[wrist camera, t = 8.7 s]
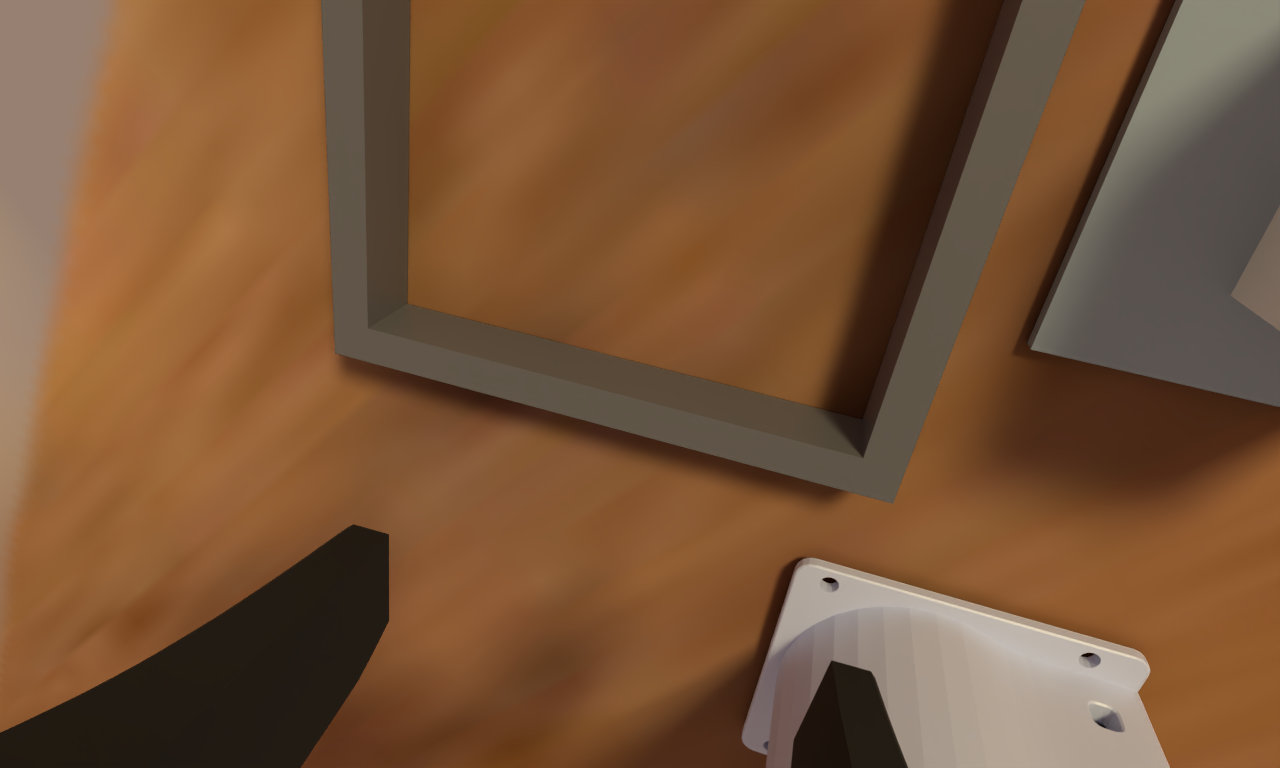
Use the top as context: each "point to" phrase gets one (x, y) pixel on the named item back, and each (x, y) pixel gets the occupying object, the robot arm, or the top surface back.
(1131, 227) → the slate mat
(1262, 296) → the block
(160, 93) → the top surface
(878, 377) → the frame
